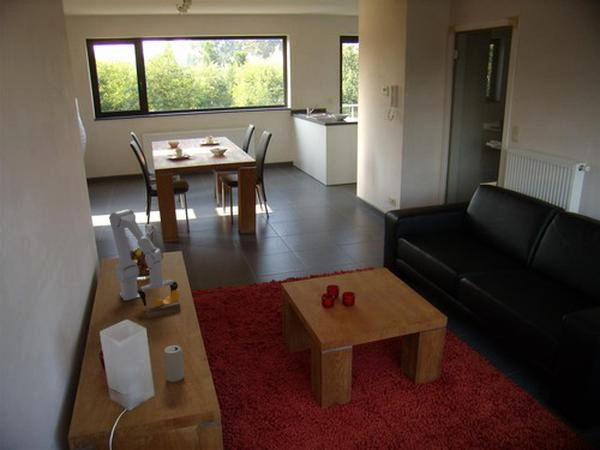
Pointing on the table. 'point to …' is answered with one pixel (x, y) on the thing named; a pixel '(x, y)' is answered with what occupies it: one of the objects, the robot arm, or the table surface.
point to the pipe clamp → (168, 299)
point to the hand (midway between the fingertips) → (158, 301)
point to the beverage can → (174, 363)
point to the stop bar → (163, 309)
